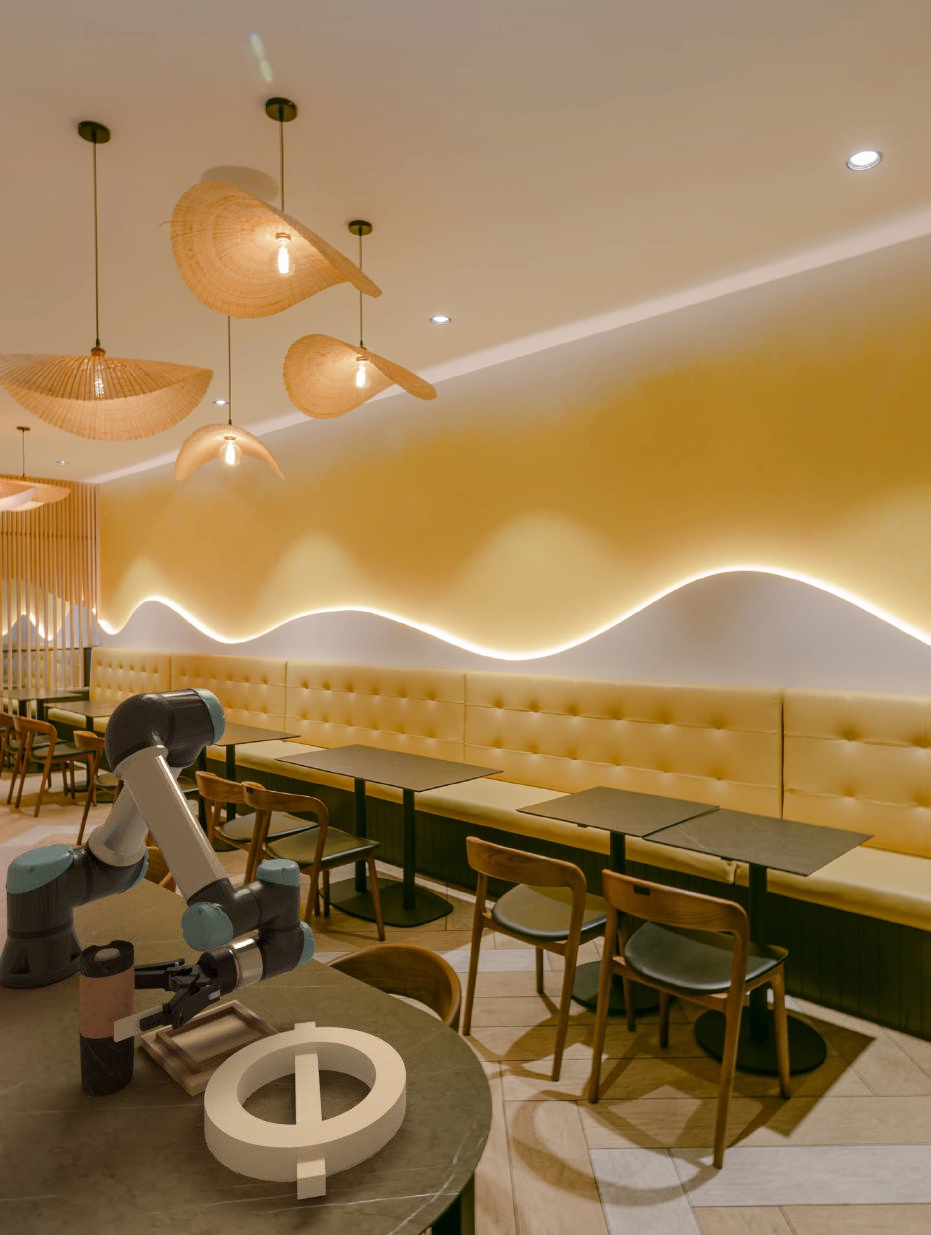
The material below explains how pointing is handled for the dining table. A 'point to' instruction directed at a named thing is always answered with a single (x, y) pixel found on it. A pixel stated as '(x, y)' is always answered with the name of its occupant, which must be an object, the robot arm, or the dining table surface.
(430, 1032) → the dining table surface
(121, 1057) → the travel mug
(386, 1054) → the ring with crossbar
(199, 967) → the robot arm
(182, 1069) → the board
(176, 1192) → the dining table surface
